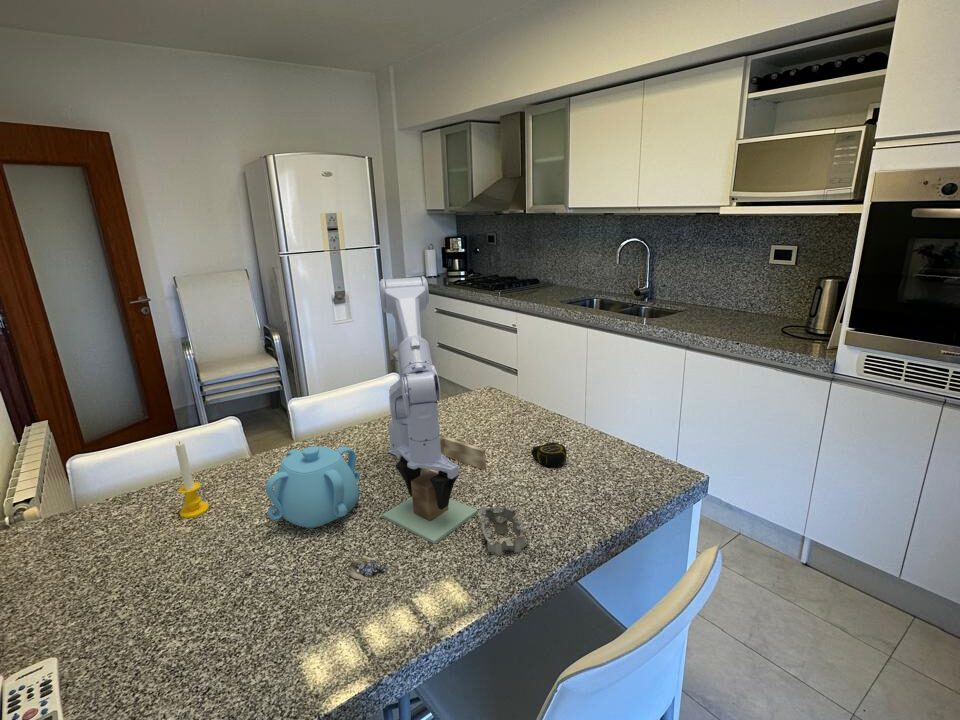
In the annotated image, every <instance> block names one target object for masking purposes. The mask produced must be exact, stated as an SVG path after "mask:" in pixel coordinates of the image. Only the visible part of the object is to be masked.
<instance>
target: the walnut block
mask: <svg viewBox="0 0 960 720" xmlns="http://www.w3.org/2000/svg"><path fill="white" fill-rule="evenodd" d="M435 475H437V473H435V472H432V471H428V472H426V473H424V474H422V475H421V476H419V477H417V478H415V479H414V480H412V481H411V488H412V496H411V497H412V500H413V512H414V514H416V515H418V516H420V517H422V518H424V519H426V520H428V521H432V520H433V519H435V518H436V517H438V516H439V515H441V514H442V513H444V512H445V511H447V510H448V509H449V508H448V506H447V507H445V508H444V509H442V510H441V509H439V508H438V505H437V498H436V492H435V489H434V487H433V484H432V483H431V481H430V478H432V477H434V476H435Z"/></svg>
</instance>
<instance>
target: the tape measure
mask: <svg viewBox="0 0 960 720" xmlns="http://www.w3.org/2000/svg"><path fill="white" fill-rule="evenodd" d="M530 452H531V453H530V454H531V455H532V457H533V459H534V460H537V461H538V462H539V463H540V464H542V465H543V466H547V467H554V466H555V467H557V466H560V465H563V464H564V463H566V461H567V448H566V447H565V445H563V444H560V443H558V442H550V443H545V444H541V445H537V446H534V447H532V449H531V450H530Z"/></svg>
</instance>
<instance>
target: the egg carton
mask: <svg viewBox="0 0 960 720" xmlns="http://www.w3.org/2000/svg"><path fill="white" fill-rule="evenodd" d="M479 511H480V512H479V513H480V514H479V515H480V516H479V517H480V521H481V523H480V524H481V529H482V534H483V537H484V540H485V541H487V543H486V544H487V551H488V552H490V553H494V554H495V555H496V556H498V555H503V553H504V551H506V550H507V551H508V550H511V551H513V552H514V553H520V552H522V549H523V548H525V547H526V541H527V539H526V536H527V533H526V532H527V531H526V527H525V525H524V523H523V520H522V517H521V516H520V515H519V514H518V512H517V510H516V508H515V507H514V506H510V508H508V507H507V508H506V506H505V505H504V506H502V507H499V506H495V507H493V506H490V507H483V506H480V508H479ZM508 520H509V521H510V522H511V523H512V525H511V526H512V530H513V531H514V532H515V534H516V536H515V538H514V539H513V540H511V538H509V537H501V538H499V540H498V543H497V540H495V539H494V536H493V531H492V530H493V529H491V528H490V523H493V524H494V531H495V533H496V534H497V535H505V534H507V533H508Z"/></svg>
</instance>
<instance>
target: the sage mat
mask: <svg viewBox="0 0 960 720" xmlns="http://www.w3.org/2000/svg"><path fill="white" fill-rule="evenodd" d="M448 508H449V509H448V510H447V511H445V512H444V513H442V514H441V515H439V516H438V517H436V518H435V519H433V520H432V521H428V520H426V519H424V518H422V517H420V516H418V515H416V514H414V512H413V500H412V496H410V497H409V498H408V499H405V500H404V501H402V502H401V503H399V504H397V505H395V506H394V507H393V508H391V509H389V510H387V511H385V512H384V513H382V515H381V517H382V518H383V519H385V520H387V521H389V522H390V523H393V524H395V525H396V526H399V527H401V528H402V529H403V530H406V531H409V532H410V533H412V534H414V535H416V536H418V537H420V538H422V539H424V540H426V541H428V542H429V543H431V544H434V545H435V544H437V543H438V542H440V541H441V540H443V539H444V538H445V537H447V536H448V535H449V534H451V533H452V532H453V531H455V530H456V529H458V528H459V527H461V526H462V525H463V524H464V523H466V522H467V521H468V520H470V519H472V518H473V517H474V516H475V515H477V514H479V510H478V509H477V508H474V507H472V506H469V505H467V504H465V503H462V502H459V501H458V500H455V499H453V498H451V497H450V499H449V505H448Z"/></svg>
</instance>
